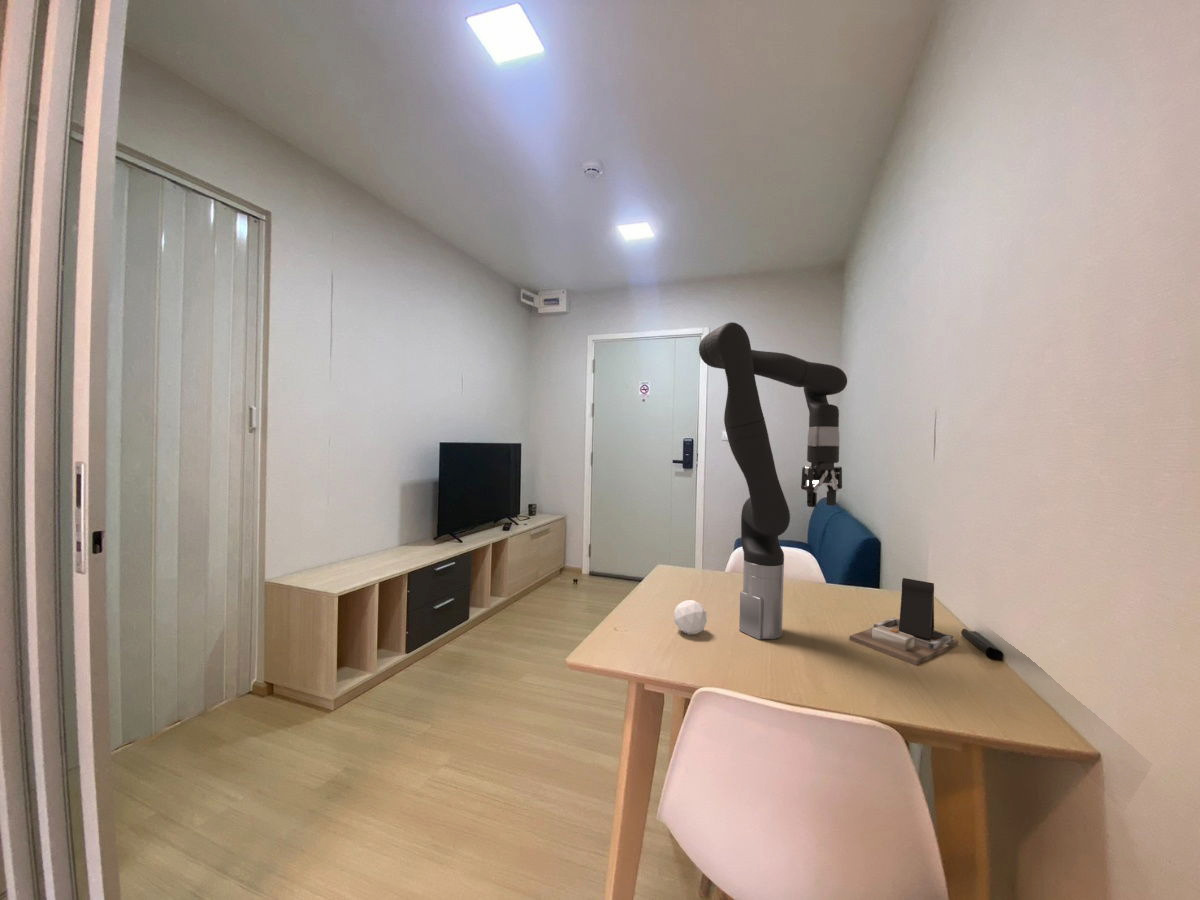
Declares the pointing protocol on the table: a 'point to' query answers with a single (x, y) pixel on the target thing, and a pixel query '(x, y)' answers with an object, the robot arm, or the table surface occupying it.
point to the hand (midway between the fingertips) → (821, 506)
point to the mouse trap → (903, 642)
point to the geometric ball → (690, 617)
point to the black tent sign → (917, 608)
